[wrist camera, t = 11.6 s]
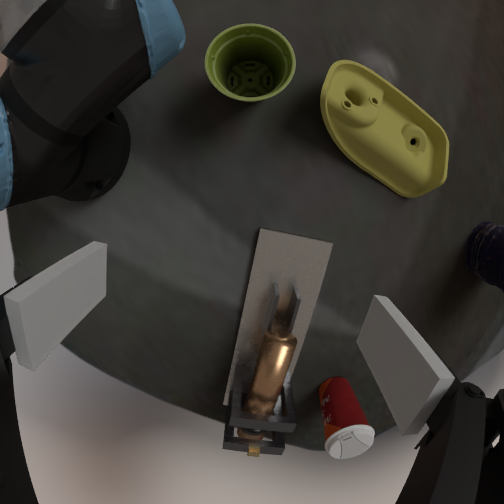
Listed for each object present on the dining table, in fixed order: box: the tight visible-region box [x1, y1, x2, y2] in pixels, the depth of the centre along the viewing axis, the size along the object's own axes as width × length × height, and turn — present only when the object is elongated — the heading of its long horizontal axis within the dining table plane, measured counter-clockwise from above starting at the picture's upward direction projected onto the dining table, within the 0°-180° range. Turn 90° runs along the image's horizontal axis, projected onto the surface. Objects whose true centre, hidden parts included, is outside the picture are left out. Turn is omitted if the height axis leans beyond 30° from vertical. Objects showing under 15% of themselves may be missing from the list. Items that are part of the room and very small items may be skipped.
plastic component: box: [320, 60, 449, 198], centre depth 34 cm, size 20×7×10 cm
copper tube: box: [237, 329, 297, 440], centre depth 40 cm, size 20×5×5 cm, turn 169°
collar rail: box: [223, 227, 333, 457], centre depth 38 cm, size 32×10×13 cm, turn 169°
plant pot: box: [205, 24, 296, 102], centre depth 30 cm, size 9×9×9 cm
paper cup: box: [319, 377, 375, 459], centre depth 41 cm, size 8×8×14 cm
